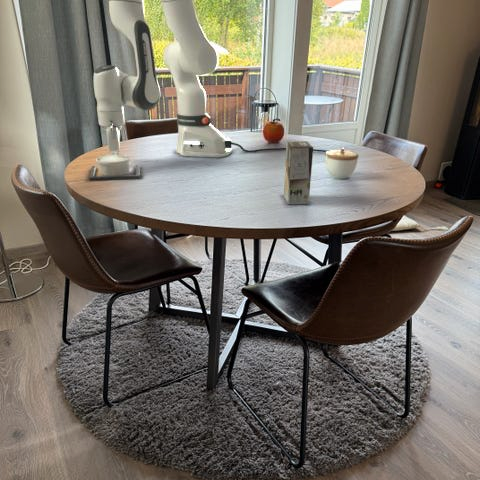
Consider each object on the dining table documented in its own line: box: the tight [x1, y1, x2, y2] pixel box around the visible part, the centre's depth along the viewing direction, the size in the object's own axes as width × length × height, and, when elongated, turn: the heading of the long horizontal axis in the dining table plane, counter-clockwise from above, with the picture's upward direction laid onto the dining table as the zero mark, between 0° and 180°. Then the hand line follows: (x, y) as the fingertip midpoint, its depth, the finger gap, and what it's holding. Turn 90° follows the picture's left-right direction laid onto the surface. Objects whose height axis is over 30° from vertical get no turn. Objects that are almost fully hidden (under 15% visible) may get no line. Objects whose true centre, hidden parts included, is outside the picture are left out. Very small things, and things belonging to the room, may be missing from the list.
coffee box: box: [283, 140, 314, 205], centre depth 144 cm, size 9×6×16 cm
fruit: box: [262, 117, 285, 144], centre depth 216 cm, size 10×10×10 cm
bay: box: [88, 164, 141, 182], centre depth 170 cm, size 15×16×1 cm
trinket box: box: [325, 147, 359, 180], centre depth 168 cm, size 11×11×9 cm
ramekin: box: [95, 154, 131, 176], centre depth 169 cm, size 11×11×5 cm
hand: (116, 159), depth 178 cm, fingers closed
